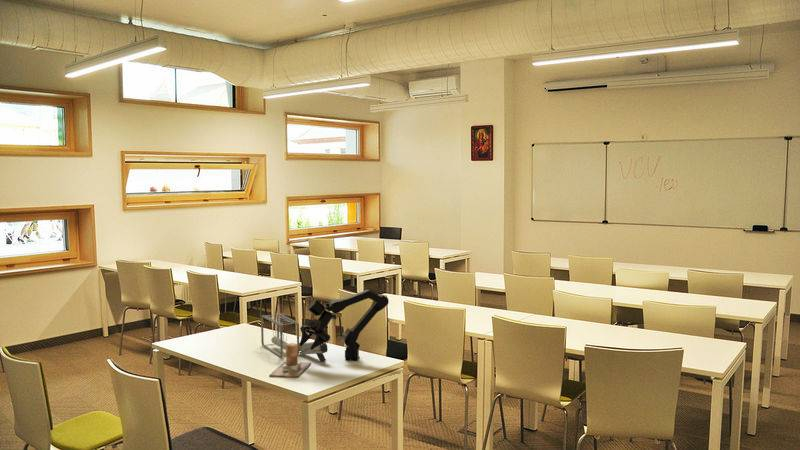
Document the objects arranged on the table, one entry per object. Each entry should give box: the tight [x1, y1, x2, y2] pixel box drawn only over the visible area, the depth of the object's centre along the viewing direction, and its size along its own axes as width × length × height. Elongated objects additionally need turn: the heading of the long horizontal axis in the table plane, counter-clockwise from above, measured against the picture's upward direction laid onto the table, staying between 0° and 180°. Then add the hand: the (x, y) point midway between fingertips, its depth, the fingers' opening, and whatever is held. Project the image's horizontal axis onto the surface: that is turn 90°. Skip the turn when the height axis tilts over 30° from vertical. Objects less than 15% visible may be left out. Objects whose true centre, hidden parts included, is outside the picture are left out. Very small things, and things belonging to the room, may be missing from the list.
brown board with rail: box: [268, 361, 312, 379], centre depth 295 cm, size 14×22×3 cm, turn 172°
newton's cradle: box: [260, 313, 300, 358], centre depth 331 cm, size 30×10×18 cm, turn 33°
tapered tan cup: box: [285, 342, 299, 366], centre depth 294 cm, size 6×6×12 cm
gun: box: [299, 341, 329, 363], centre depth 316 cm, size 2×25×10 cm, turn 44°
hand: (305, 347), depth 300 cm, fingers open, 9 cm apart
